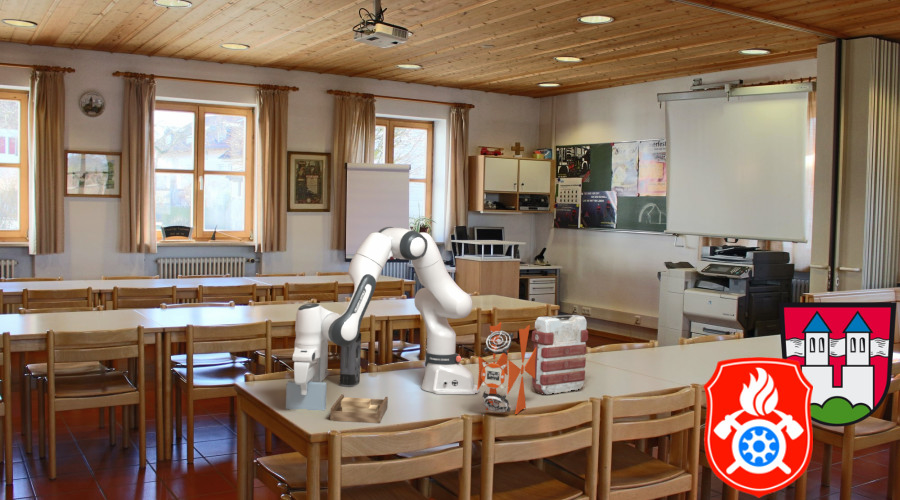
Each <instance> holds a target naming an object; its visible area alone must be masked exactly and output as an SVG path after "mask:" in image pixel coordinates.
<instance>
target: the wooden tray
mask: <svg viewBox="0 0 900 500" xmlns="http://www.w3.org/2000/svg"><path fill="white" fill-rule="evenodd" d="M344 397H345V394H344V393H343V394H341V395H340V396H339V397H338V399H337V400H336V401H335V403H333V405H332V406H331V408H330V415H329V416H330V419H329V420H333V422H347V421H350V423H369V424H381V422H382V420H383V418H384V416H385V414H386V412H387V410H388V407H389V406H388V404H389V403H388V400H389V397H388V396H385V397H384V398H383V399H382V398H380V399H379V398H370V399H371V405H378V413H364V412H345V411H339V410H340V409H342V407H341V401H342V399H343V398H344Z"/></svg>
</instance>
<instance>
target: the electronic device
mask: <svg viewBox="0 0 900 500" xmlns="http://www.w3.org/2000/svg"><path fill="white" fill-rule="evenodd" d="M361 347H362V333H361V332H359V335H358V338H357V339H356V341H355V342H354V343H353V344H351V345H349V346H346V347H342V346H340V363H339V367H340V368H339V386H340V387H346V388H347V387H348V388H353V387H355V386H357V385H359V383H360V382H361V381H360V379H361V378H360V377H361V375H360V374H361V354H362V352H361V351H362V350H361V349H362V348H361Z"/></svg>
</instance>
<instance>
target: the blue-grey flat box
mask: <svg viewBox="0 0 900 500" xmlns="http://www.w3.org/2000/svg"><path fill="white" fill-rule="evenodd" d="M327 384H328V382H323V381H322V382H308V383H307V389H308V390H307V394H306V395H302V394H301V386H300V385H298V384H295V380H288V381H287V382H286V391H285V393H286V396H285V409H286V410H298V409H307V410H306V411H317V410H319V411H318V412H323V411H324V412H325V410H326V409H327V389H328V388H327V387H328V386H327ZM320 410H321V411H320Z"/></svg>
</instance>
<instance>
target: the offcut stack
mask: <svg viewBox="0 0 900 500" xmlns="http://www.w3.org/2000/svg"><path fill="white" fill-rule="evenodd" d="M371 399H372V398H365V397H364V398H363V397H362V398H361V397H346V396H344V398H343V399H342V401H341V407H342V409H340V410H339V411H345V412H364V413H378V405H371Z"/></svg>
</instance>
